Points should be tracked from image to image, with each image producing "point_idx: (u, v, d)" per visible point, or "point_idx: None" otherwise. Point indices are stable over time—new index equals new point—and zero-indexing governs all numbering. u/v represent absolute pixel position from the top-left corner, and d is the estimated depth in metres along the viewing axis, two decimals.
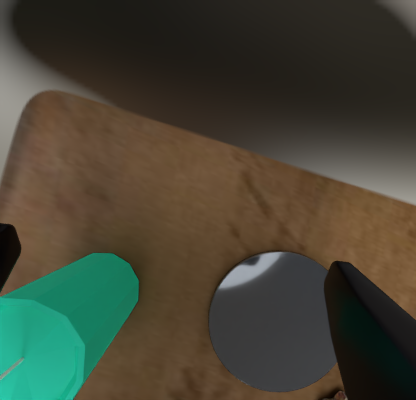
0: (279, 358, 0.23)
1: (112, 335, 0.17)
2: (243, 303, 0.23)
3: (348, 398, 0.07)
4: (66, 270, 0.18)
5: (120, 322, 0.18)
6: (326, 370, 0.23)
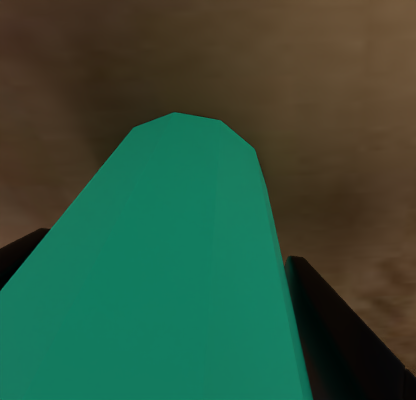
0: None
1: (300, 344, 0.06)
2: None
3: None
4: (77, 221, 0.05)
5: (285, 279, 0.07)
6: None
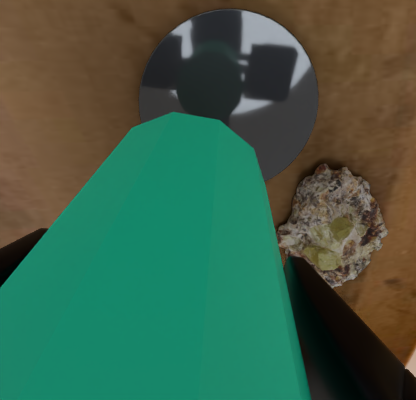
0: None
1: (298, 344, 0.06)
2: (175, 108, 0.18)
3: None
4: (74, 221, 0.05)
5: (284, 278, 0.07)
6: (300, 148, 0.19)
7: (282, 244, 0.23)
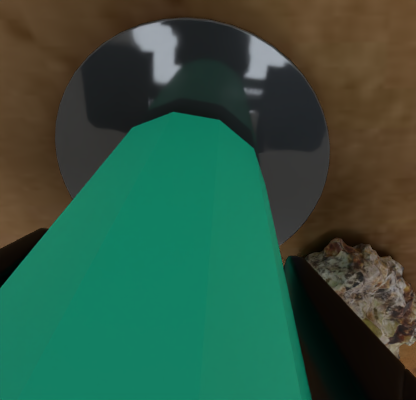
0: None
1: (298, 344, 0.06)
2: None
3: None
4: (75, 221, 0.05)
5: (284, 278, 0.07)
6: (301, 221, 0.13)
7: None
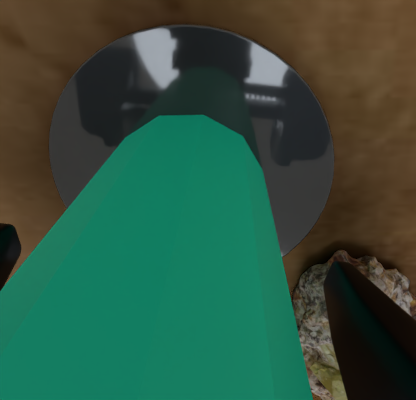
0: None
1: None
2: None
3: (348, 397, 0.07)
4: (211, 219, 0.05)
5: None
6: (305, 233, 0.12)
7: None
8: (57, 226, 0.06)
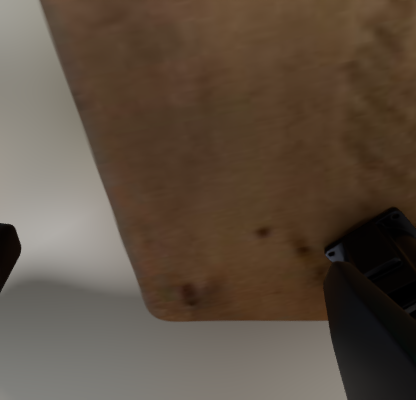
0: None
1: None
2: None
3: (347, 397, 0.07)
4: None
5: None
6: None
7: None
8: None
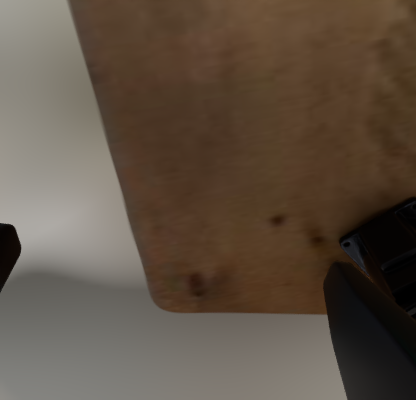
0: None
1: None
2: None
3: (347, 397, 0.07)
4: None
5: None
6: None
7: None
8: None
